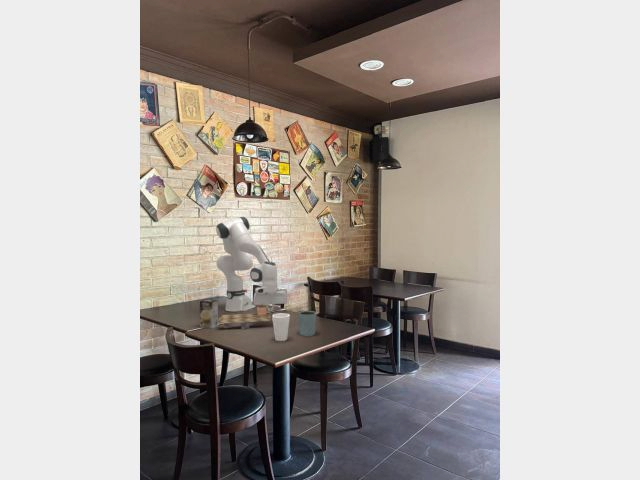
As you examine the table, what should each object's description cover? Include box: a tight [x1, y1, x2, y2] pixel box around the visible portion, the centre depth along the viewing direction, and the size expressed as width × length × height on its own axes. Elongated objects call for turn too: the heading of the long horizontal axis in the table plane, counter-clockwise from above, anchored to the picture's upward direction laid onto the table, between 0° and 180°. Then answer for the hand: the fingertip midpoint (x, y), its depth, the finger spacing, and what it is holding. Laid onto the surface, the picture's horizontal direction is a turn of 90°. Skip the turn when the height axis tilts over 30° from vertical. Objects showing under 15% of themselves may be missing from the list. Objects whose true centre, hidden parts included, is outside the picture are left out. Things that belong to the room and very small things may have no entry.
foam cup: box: [271, 312, 291, 342], centre depth 212 cm, size 10×9×13 cm
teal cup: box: [298, 310, 317, 337], centre depth 222 cm, size 10×10×12 cm
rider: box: [256, 305, 267, 315], centre depth 237 cm, size 5×6×6 cm
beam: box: [218, 312, 272, 330], centre depth 235 cm, size 30×8×8 cm, turn 102°
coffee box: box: [199, 298, 219, 329], centre depth 238 cm, size 9×6×16 cm
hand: (270, 311), depth 238 cm, fingers closed
